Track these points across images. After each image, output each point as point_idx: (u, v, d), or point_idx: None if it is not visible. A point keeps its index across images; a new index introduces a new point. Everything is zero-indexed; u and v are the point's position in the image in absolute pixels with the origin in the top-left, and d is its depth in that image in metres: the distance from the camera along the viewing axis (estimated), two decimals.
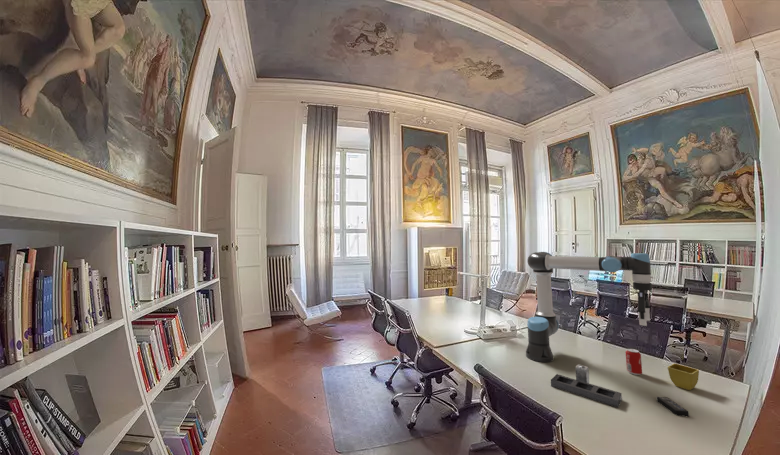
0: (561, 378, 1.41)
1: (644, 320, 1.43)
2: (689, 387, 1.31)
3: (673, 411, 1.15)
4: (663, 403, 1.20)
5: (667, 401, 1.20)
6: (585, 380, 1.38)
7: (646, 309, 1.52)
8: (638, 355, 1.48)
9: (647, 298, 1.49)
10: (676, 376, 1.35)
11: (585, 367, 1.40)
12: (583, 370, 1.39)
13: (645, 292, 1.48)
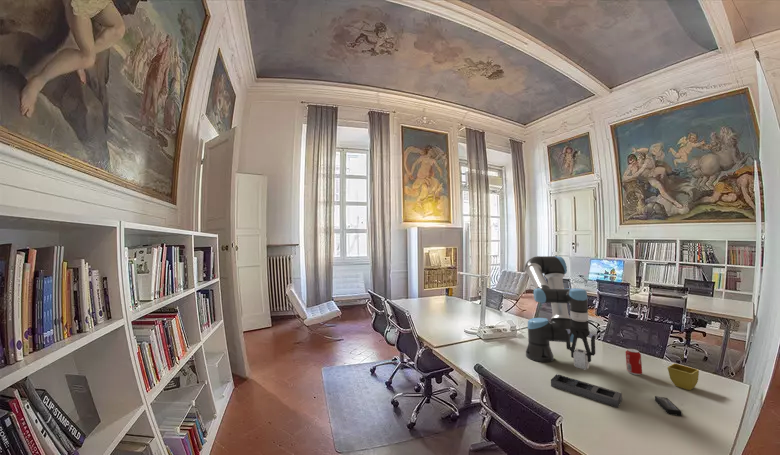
0: (561, 378, 1.41)
1: None
2: (689, 387, 1.31)
3: (665, 410, 1.16)
4: (659, 402, 1.21)
5: (663, 401, 1.20)
6: (584, 364, 1.39)
7: None
8: (638, 355, 1.48)
9: (582, 338, 1.40)
10: (676, 376, 1.35)
11: (584, 351, 1.41)
12: (582, 354, 1.40)
13: (578, 330, 1.42)
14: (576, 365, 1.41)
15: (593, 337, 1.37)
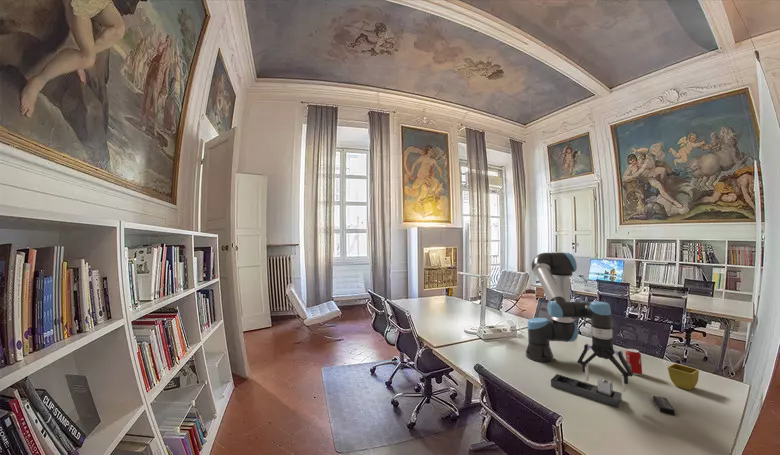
0: (561, 378, 1.41)
1: None
2: (689, 387, 1.31)
3: (659, 408, 1.17)
4: (655, 401, 1.21)
5: (660, 400, 1.21)
6: (609, 396, 1.23)
7: (621, 376, 1.22)
8: (638, 355, 1.48)
9: (609, 358, 1.24)
10: (676, 376, 1.35)
11: (608, 381, 1.25)
12: (606, 385, 1.24)
13: (601, 349, 1.26)
14: None
15: (620, 354, 1.22)
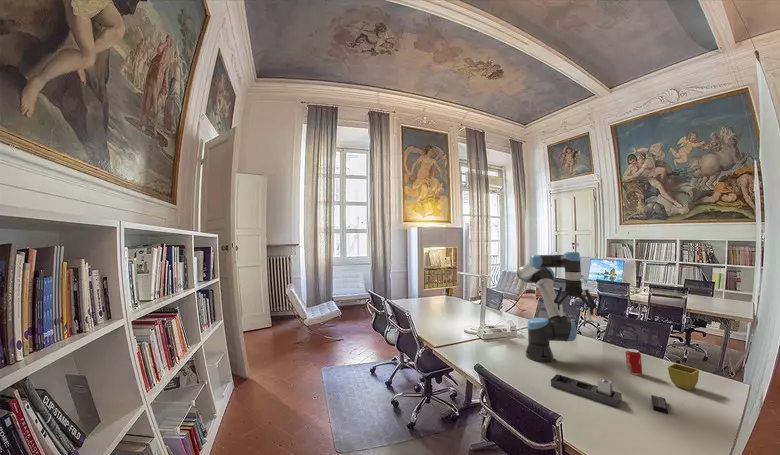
0: (561, 378, 1.41)
1: None
2: (689, 387, 1.31)
3: (653, 406, 1.18)
4: None
5: (657, 399, 1.21)
6: (609, 396, 1.23)
7: None
8: (638, 355, 1.48)
9: None
10: (676, 376, 1.35)
11: (608, 382, 1.25)
12: (606, 385, 1.24)
13: (572, 289, 1.55)
14: None
15: (586, 291, 1.50)
